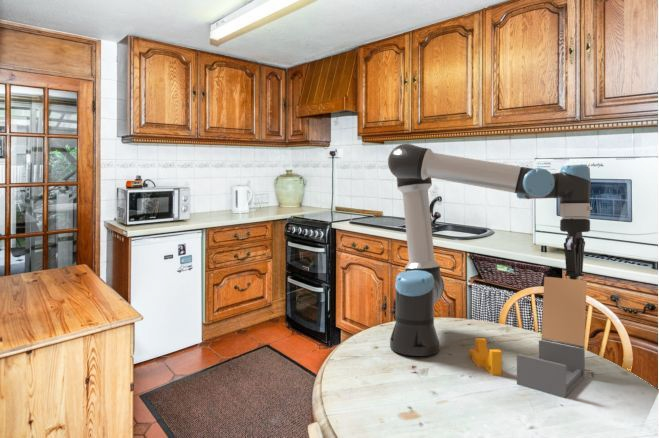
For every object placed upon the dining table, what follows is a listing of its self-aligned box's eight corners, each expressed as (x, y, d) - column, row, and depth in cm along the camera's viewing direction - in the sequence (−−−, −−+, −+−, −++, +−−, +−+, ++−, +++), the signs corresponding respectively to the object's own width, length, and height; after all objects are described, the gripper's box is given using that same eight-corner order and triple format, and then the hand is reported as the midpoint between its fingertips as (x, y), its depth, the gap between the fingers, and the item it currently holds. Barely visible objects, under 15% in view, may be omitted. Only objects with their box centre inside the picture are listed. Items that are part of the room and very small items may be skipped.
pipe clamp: (469, 359, 121) (469, 338, 121) (483, 359, 121) (483, 338, 121) (485, 375, 109) (485, 351, 109) (501, 375, 109) (501, 351, 109)
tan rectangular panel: (544, 276, 117) (545, 276, 117) (541, 340, 115) (542, 339, 116) (586, 280, 109) (586, 280, 110) (583, 348, 108) (584, 348, 108)
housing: (516, 384, 104) (516, 354, 103) (539, 366, 115) (540, 340, 115) (565, 397, 96) (565, 366, 96) (584, 377, 108) (584, 349, 108)
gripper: (583, 218, 112) (582, 303, 113) (595, 218, 121) (594, 297, 122) (553, 218, 118) (553, 299, 118) (567, 218, 127) (566, 293, 127)
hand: (574, 298), depth 120 cm, fingers closed
